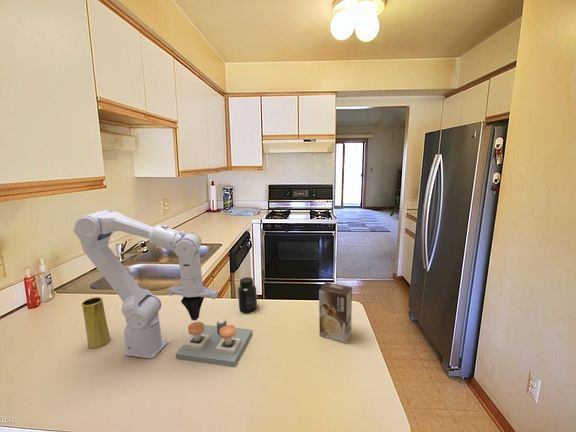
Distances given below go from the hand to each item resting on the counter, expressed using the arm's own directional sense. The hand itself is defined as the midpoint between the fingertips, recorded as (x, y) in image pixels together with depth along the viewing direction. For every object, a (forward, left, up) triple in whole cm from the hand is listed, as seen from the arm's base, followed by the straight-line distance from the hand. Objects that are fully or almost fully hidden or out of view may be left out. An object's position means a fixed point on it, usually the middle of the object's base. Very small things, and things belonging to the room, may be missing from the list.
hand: (195, 318), depth 85 cm
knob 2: (+10, 0, -7) cm, 12 cm away
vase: (-33, -3, -10) cm, 34 cm away
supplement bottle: (+7, +24, -10) cm, 27 cm away
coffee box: (+40, +14, -10) cm, 44 cm away
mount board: (+5, +2, -10) cm, 11 cm away
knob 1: (0, 0, -7) cm, 7 cm away
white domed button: (+5, +7, -8) cm, 12 cm away
